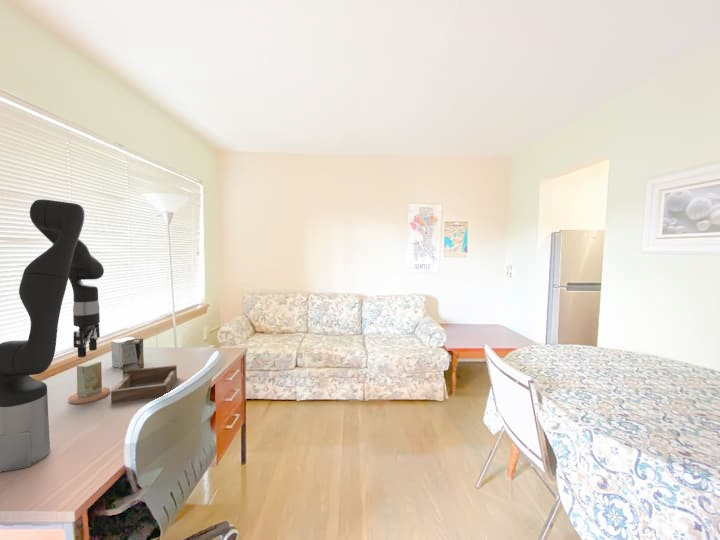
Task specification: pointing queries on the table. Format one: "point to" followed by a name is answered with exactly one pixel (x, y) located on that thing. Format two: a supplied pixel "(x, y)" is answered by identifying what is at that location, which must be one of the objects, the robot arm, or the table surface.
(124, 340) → the small box
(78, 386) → the skincare box
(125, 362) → the coffee box
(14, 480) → the table surface
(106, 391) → the peach half ellipsoid
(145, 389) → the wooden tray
